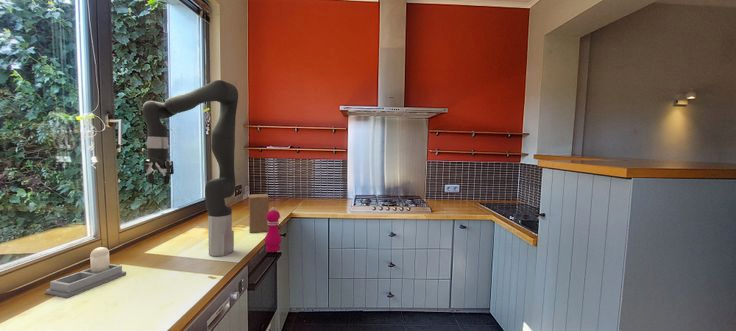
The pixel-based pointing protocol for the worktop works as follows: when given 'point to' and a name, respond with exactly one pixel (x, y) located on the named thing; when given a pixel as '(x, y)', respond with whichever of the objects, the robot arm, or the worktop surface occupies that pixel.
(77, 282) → the grey divided tray
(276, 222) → the pepper mill
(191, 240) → the worktop surface
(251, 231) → the wooden block
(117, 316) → the worktop surface
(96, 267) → the cream capsule shape
